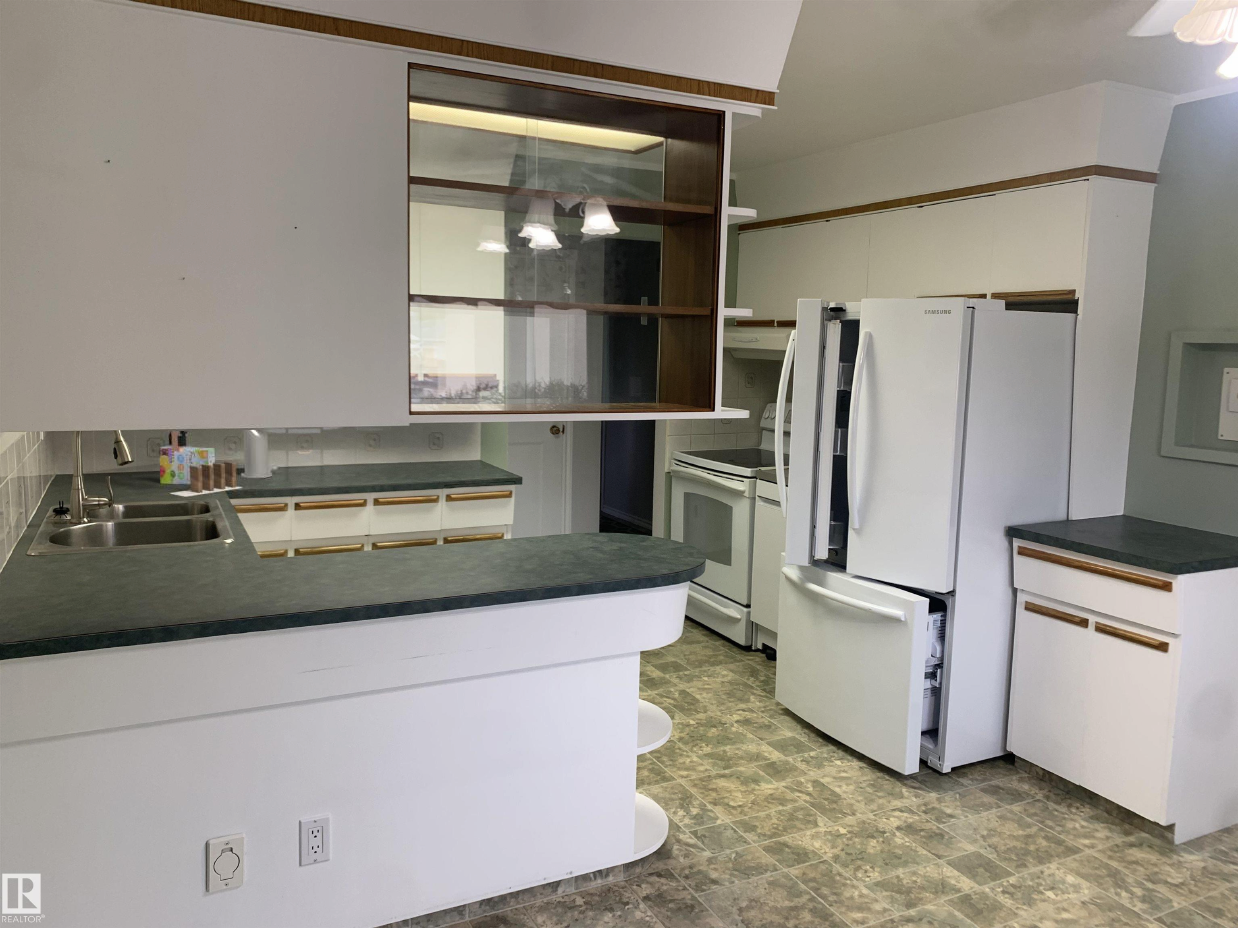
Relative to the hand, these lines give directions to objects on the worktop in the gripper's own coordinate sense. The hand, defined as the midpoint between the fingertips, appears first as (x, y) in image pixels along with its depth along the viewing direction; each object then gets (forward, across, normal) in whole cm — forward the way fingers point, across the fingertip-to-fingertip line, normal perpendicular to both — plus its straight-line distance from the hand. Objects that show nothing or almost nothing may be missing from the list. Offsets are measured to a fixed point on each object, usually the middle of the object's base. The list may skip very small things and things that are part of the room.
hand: (177, 444), depth 340 cm
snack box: (+19, +15, -13) cm, 27 cm away
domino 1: (+3, 0, 0) cm, 3 cm away
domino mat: (+19, -5, -8) cm, 21 cm away
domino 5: (+18, -5, -19) cm, 27 cm away
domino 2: (+18, -5, -4) cm, 19 cm away
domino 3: (+18, -5, -9) cm, 21 cm away
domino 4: (+18, -5, -14) cm, 23 cm away
